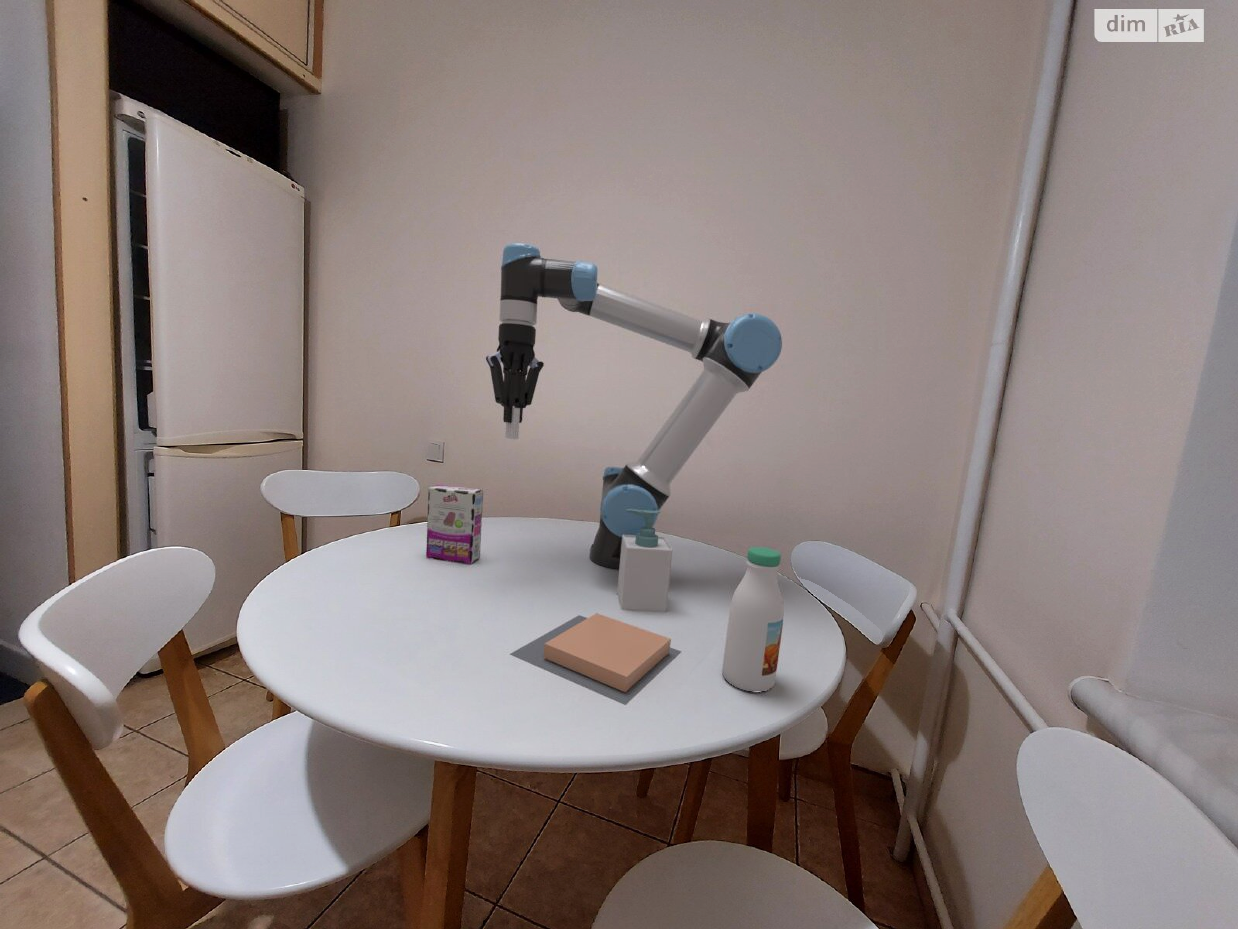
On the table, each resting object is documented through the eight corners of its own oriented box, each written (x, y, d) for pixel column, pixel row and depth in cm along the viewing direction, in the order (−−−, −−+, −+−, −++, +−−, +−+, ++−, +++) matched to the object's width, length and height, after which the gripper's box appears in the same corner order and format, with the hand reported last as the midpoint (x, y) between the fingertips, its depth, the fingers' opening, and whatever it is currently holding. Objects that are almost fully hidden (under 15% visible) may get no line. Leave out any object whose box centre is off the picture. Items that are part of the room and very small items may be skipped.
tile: (544, 643, 76) (626, 677, 69) (596, 613, 88) (671, 639, 81) (543, 659, 76) (625, 694, 69) (595, 627, 88) (669, 653, 81)
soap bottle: (615, 595, 105) (624, 503, 102) (658, 597, 106) (667, 506, 103) (619, 613, 96) (629, 514, 94) (665, 615, 97) (676, 517, 95)
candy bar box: (480, 558, 119) (484, 489, 117) (471, 565, 114) (475, 492, 112) (436, 552, 121) (439, 483, 119) (424, 558, 116) (427, 487, 114)
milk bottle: (742, 698, 72) (760, 560, 69) (711, 669, 79) (726, 543, 76) (785, 689, 75) (804, 558, 72) (752, 663, 82) (768, 541, 79)
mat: (509, 659, 77) (509, 654, 77) (578, 619, 92) (579, 615, 92) (624, 710, 67) (625, 704, 67) (681, 656, 82) (681, 651, 82)
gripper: (533, 329, 113) (527, 436, 117) (480, 320, 104) (475, 436, 108) (554, 328, 108) (547, 440, 111) (499, 318, 99) (494, 440, 102)
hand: (511, 438), depth 109 cm, fingers closed
